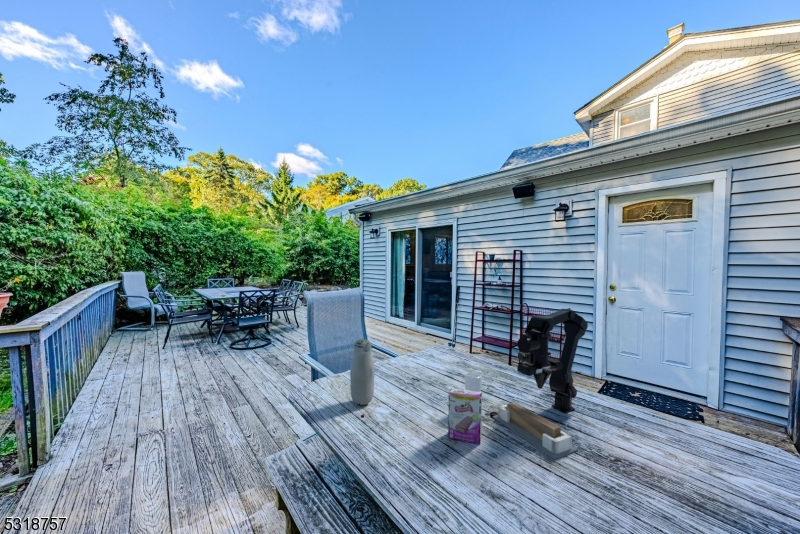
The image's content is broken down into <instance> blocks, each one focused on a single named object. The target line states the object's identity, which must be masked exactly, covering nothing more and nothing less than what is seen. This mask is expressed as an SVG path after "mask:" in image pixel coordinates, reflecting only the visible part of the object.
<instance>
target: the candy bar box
mask: <svg viewBox="0 0 800 534" xmlns="http://www.w3.org/2000/svg"><path fill="white" fill-rule="evenodd" d="M482 411H483V392H482V391H481V392H477V391H470V390H465V388H464V389H463V388H456V387H450V389H449V391H448V418H447V419H448V422H447V424H448V426H447V429H448V430H447V431H448V433H447V437H448V439H450V438H451V439H452V440H455V441H456V440H457V441H461V442H467V443H470V444H471V443H473V444H475V445H476V444H477V445H481V440H482V433H483V432H482V430H483V429H482V419H483V416H482V415H483V412H482Z"/></svg>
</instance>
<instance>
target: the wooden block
mask: <svg viewBox="0 0 800 534" xmlns="http://www.w3.org/2000/svg"><path fill="white" fill-rule="evenodd" d="M506 404H507V410H508V411H510V422H512V423H514V424H515V425H517V426H519V427H520V428H522V429H524V430H525V431H527V432H529V433H530V434H532V435H534V436H535V437H537V438H539V439H540V440H542V438H543V434H544V433H546V434H547V435H549V436H551V437H552V438H554V439H555V438H558V437H561V431H562V428H561V426H560V425H557V424H556V423H555V422H552V421H550V420H548V419H547V418H545V417H543V416H540V415H538V414H537V413H534V412H533V411H531V410H529V409H527V408H525V407H523V406H522V405H520V404H517V403H515V402H514V401H513V402H510V403H506Z"/></svg>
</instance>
